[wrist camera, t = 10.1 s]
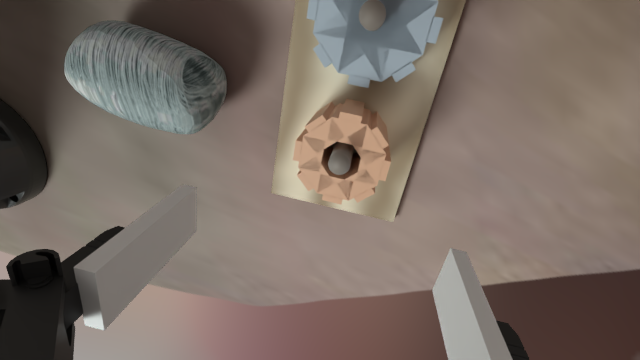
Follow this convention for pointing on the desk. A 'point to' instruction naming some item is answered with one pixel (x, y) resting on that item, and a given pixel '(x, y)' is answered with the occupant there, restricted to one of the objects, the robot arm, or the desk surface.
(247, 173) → the desk surface
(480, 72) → the desk surface
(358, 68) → the gear
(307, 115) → the gear board
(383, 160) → the loose gear
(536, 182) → the desk surface
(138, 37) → the spool
